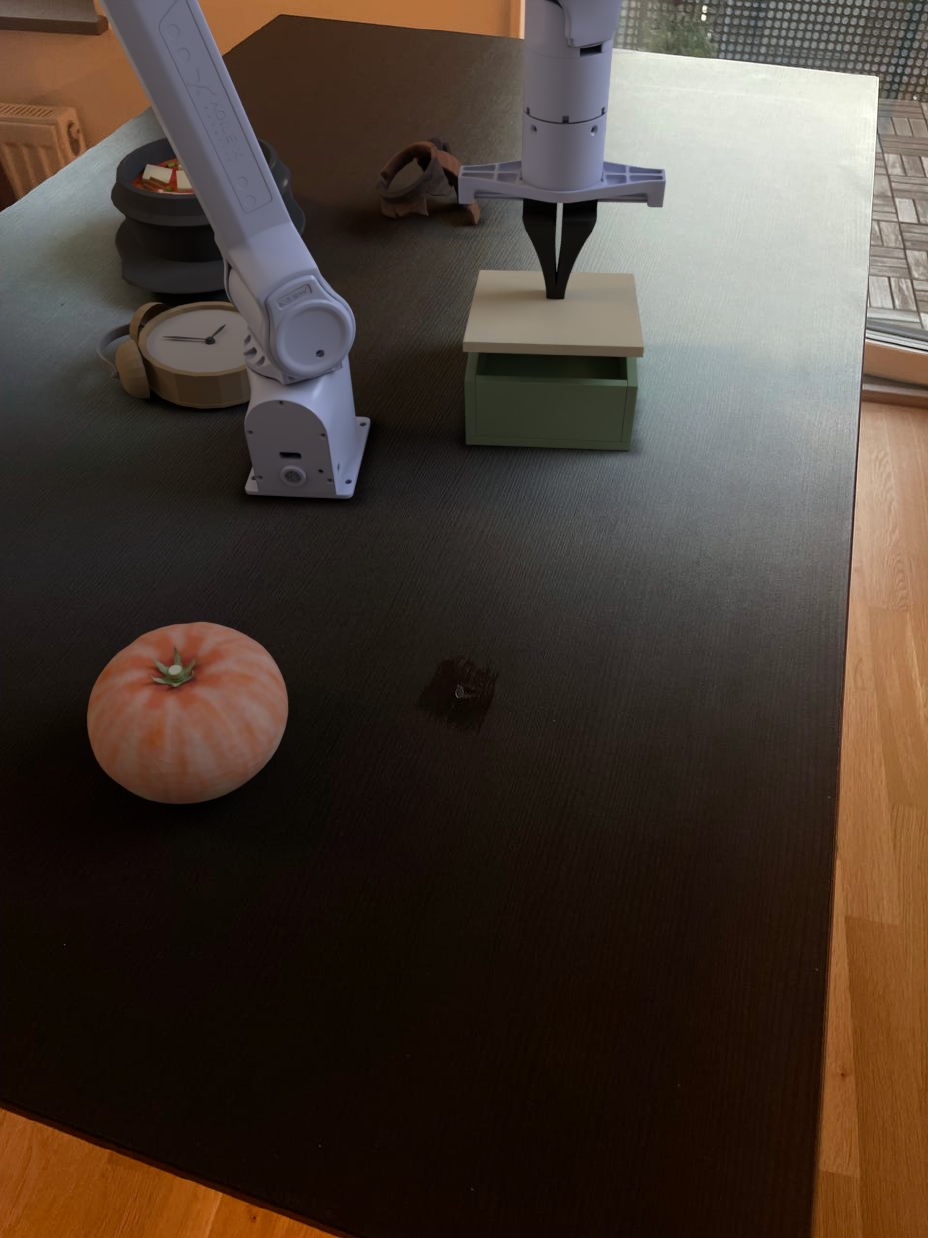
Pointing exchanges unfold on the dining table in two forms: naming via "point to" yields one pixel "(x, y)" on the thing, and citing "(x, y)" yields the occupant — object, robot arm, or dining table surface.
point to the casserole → (175, 221)
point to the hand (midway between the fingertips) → (555, 292)
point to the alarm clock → (182, 354)
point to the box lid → (554, 315)
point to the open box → (550, 400)
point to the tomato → (187, 713)
